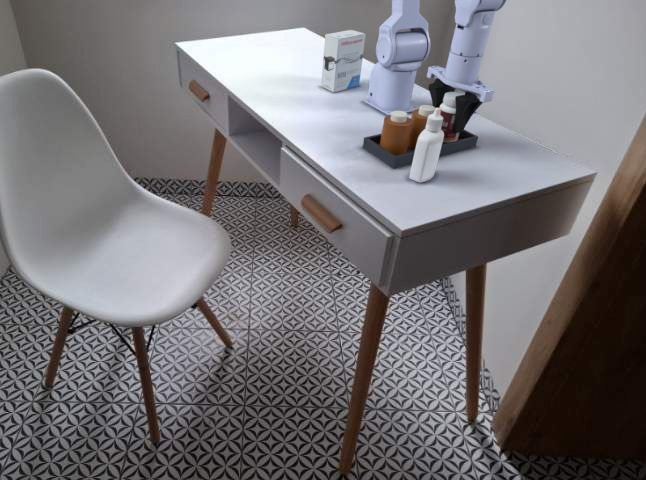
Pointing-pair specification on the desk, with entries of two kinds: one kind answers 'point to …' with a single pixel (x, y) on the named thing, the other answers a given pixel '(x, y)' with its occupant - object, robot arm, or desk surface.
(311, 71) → the desk surface
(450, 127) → the pill bottle
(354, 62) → the ink box
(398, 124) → the amber bottle far
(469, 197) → the desk surface
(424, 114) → the amber bottle middle
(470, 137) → the tray
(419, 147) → the eye dropper bottle
